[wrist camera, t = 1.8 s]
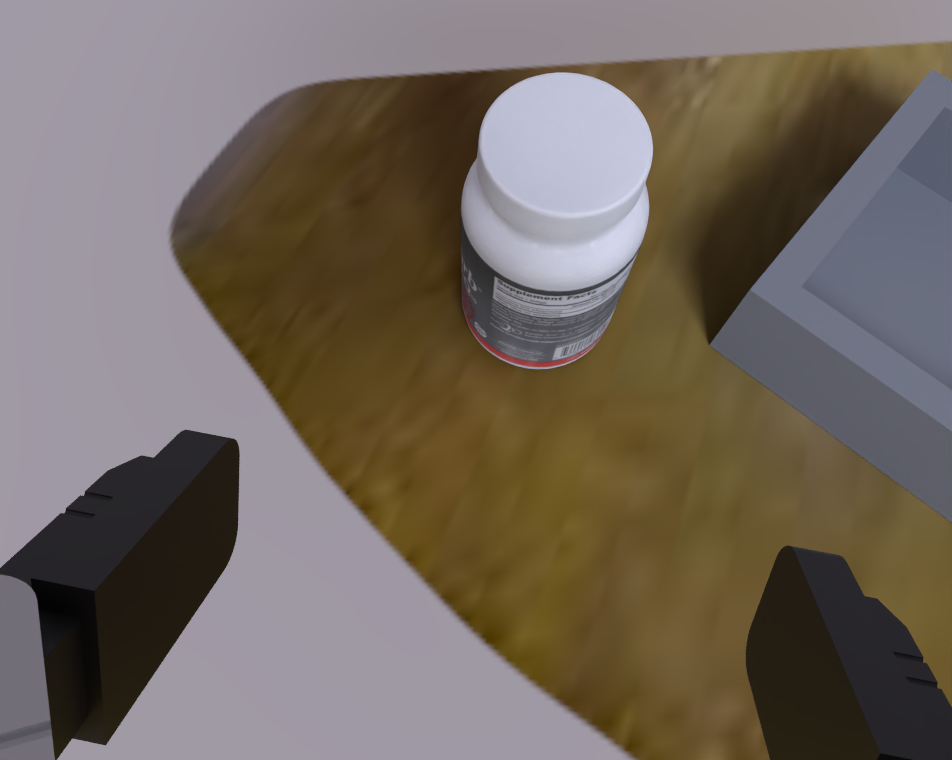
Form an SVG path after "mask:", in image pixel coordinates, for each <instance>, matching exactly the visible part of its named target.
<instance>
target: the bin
mask: <svg viewBox="0 0 952 760" xmlns="http://www.w3.org/2000/svg"><path fill="white" fill-rule="evenodd" d="M709 346H711V347H712V348H714V349H715V350H716V351H718V352H719V353H720V354H722V355H723V356H725V357H726V358H727V359H729V360H730V361H731V362H733V363H734V364H735V365H737V366H738V367H740V368H741V369H742V370H744V371H745V372H746V373H748V374H749V375H751V376H752V377H753V378H755V379H756V380H757V381H759V382H760V383H761V384H763V385H764V386H766V387H767V388H768V389H770V390H771V391H772V392H774V393H775V394H777V395H778V396H779V397H781V398H782V399H783V400H785V401H786V402H787V403H789V404H790V405H792V406H793V407H794V408H796V409H797V410H798V411H800V412H801V413H803V414H804V415H805V416H807V417H808V418H809V419H811V420H812V421H813V422H815V423H816V424H818V425H819V426H820V427H822V428H823V429H824V430H826V431H827V432H829V433H830V434H831V435H833V436H834V437H835V438H837V439H838V440H839V441H841V442H842V443H844V444H845V445H846V446H848V447H849V448H850V449H852V450H853V451H855V452H856V453H857V454H859V455H860V456H861V457H863V458H864V459H865V460H867V461H868V462H870V463H871V464H872V465H874V466H875V467H876V468H878V469H879V470H881V471H882V472H883V473H885V474H886V475H887V476H889V477H890V478H891V479H893V480H894V481H896V482H897V483H898V484H900V485H901V486H902V487H904V488H905V489H907V490H908V491H909V492H911V493H912V494H913V495H915V496H916V497H917V498H919V499H920V500H922V501H923V502H924V503H926V504H927V505H928V506H930V507H931V508H932V509H934V510H935V511H937V512H938V513H939V514H941V515H942V516H943V517H945V518H946V519H948V520H949V521H950V522H952V81H950V80H949V79H947V78H945V77H943V76H942V75H940V74H938V73H937V72H935V71H933V70H931V71H930V72H929V73H928V74H927V76H926V77H925V78H924V79H923V81H922V82H921V83H920V84H919V85H918V87H917V88H916V89H915V90H914V91H913V93H912V94H911V95H910V96H909V97H908V99H907V100H906V101H905V102H904V104H903V105H902V106H901V107H900V108H899V110H898V111H897V112H896V113H895V114H894V116H893V117H892V118H891V119H890V121H889V122H888V123H887V124H886V125H885V127H884V128H883V129H882V130H881V131H880V133H879V134H878V135H877V136H876V137H875V139H874V140H873V141H872V142H871V144H870V145H869V146H868V147H867V148H866V150H865V151H864V152H863V153H862V154H861V156H860V157H859V158H858V159H857V161H856V162H855V163H854V164H853V165H852V167H851V168H850V169H849V170H848V171H847V173H846V174H845V175H844V176H843V177H842V179H841V180H840V181H839V182H838V184H837V185H836V186H835V187H834V188H833V190H832V191H831V192H830V193H829V194H828V196H827V197H826V198H825V199H824V200H823V202H822V203H821V204H820V205H819V207H818V208H817V209H816V210H815V211H814V213H813V214H812V215H811V216H810V217H809V219H808V220H807V221H806V222H805V224H804V225H803V226H802V227H801V228H800V230H799V231H798V232H797V233H796V234H795V236H794V237H793V238H792V239H791V240H790V242H789V243H788V244H787V245H786V247H785V248H784V249H783V250H782V251H781V253H780V254H779V255H778V256H777V257H776V259H775V260H774V261H773V262H772V264H771V265H770V266H769V267H768V268H767V270H766V271H765V272H764V273H763V274H762V276H761V277H760V278H759V279H758V280H757V282H756V283H755V284H754V285H753V287H752V288H751V289H750V290H749V292H748V293H747V294H746V296H745V297H744V298H743V300H742V301H741V303H740V304H739V305H738V307H737V308H736V309H735V311H734V312H733V313H732V315H731V316H730V318H729V319H728V320H727V322H726V323H725V324H724V326H723V327H722V328H721V330H720V331H719V333H718V334H717V335H716V337H715V338H714V339H713V341H712V342H711V344H710V345H709Z"/></svg>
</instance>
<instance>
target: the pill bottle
mask: <svg viewBox="0 0 952 760" xmlns="http://www.w3.org/2000/svg"><path fill="white" fill-rule="evenodd" d="M652 155H653V144H652V137H651V133H650V130H649V127H648V124H647V122H646V120H645V118H644V116H643V114H642V113H641V111H640V110H639V109H638V107H637V106H636V105H635V104H634V103H633V102H632V101H631V99H629V98H628V97H627V96H626V95H625V94H624V93H622V92H621V91H620V90H618V89H617V88H615V87H613V86H612V85H610V84H608V83H606V82H604V81H601V80H599V79H596V78H594V77H590V76H587V75H582V74H576V73H560V72H557V73H547V74H542V75H538V76H534V77H530V78H527V79H525V80H523V81H521V82H519V83H517V84H515V85H513V86H511V87H510V88H509V89H507V90H506V91H504V92H503V93H502V94H501V95H500V96H499V97H498V98H497V99H496V100H495V101H494V103H493V104H492V105H491V106H490V108H489V109H488V111H487V113H486V115H485V117H484V119H483V122H482V125H481V128H480V134H479V143H478V153H477V158H476V160H475V162H474V163H473V165H472V166H471V168H470V170H469V173H468V175H467V178H466V181H465V183H464V188H463V192H462V199H461V286H462V291H461V293H462V305H463V311H464V315H465V318H466V321H467V323H468V326H469V328H470V330H471V331H472V333H473V335H474V336H475V338H476V339H477V340H478V341H479V343H480V344H481V345H482V346H483V347H484V348H485V349H486V350H488V351H489V352H490V353H491V354H493V355H494V356H496V357H498V358H499V359H501V360H503V361H505V362H507V363H510V364H512V365H515V366H519V367H523V368H529V369H549V368H555V367H559V366H563V365H566V364H568V363H571V362H573V361H575V360H577V359H579V358H580V357H582V356H583V355H585V354H586V353H587V352H589V351H590V350H591V349H592V348H593V347H594V346H595V345H596V344H597V342H598V341H599V340H600V338H601V337H602V335H603V334H604V332H605V331H606V329H607V327H608V325H609V322H610V320H611V317H612V315H613V312H614V310H615V307H616V305H617V302H618V300H619V297H620V295H621V292H622V290H623V288H624V285H625V282H626V280H627V277H628V275H629V272H630V270H631V268H632V265H633V263H634V260H635V258H636V256H637V254H638V252H639V249H640V246H641V243H642V241H643V237H644V234H645V231H646V227H647V223H648V216H649V198H648V192H647V187H646V184H645V182H646V179H647V176H648V173H649V170H650V167H651V162H652Z"/></svg>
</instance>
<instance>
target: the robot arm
mask: <svg viewBox="0 0 952 760" xmlns="http://www.w3.org/2000/svg"><path fill="white" fill-rule="evenodd" d="M238 494H239V446H238V443H237V441H236V440H235V439H231V438H226V437H221V436H216V435H211V434H205V433H200V432H195V431H190V430H184V431H182V432H180V433H179V434H178V435H177V436H176V437H175V438H174V439H173V440H172V441H171V442H170V443H169V444H168V445H167V446H166V447H164V448H163V449H162V450H161V451H160V452H159V453H158V454H157V455H156V456H155V457H154V458H151V457H146V456H139V457H137V458H135V459H132V460H130V461H128V462H126V463H124V464H121V465H119V466H117V467H115V468H113V469H110V470H108V471H107V472H106V473H105V474H104V475H103V476H101V477H100V478H99V479H98V480H97V481H96V482H95V483H94V484H93V485H91V487H89V488H88V489H87V490H86V491H85V494H84V496H79V497H78V498H77V499H76V500H75V501H74V502H73V503H72V504H71V505H69V506H68V507H67V508H66V512H65V513H64V514H63V513H61V514H59V515H58V516H57V517H56V518H55V519H54V520H53V521H52V522H51V523H50V524H48V526H46V527H45V528H44V529H43V530H42V531H41V532H40V533H38V534H37V535H36V536H35V537H34V538H33V539H32V540H31V541H30V542H29V543H27V544H26V545H25V546H24V547H23V548H22V549H21V550H20V551H19V552H17V553H16V554H15V555H14V556H13V557H12V558H11V559H10V560H9V561H7V562H6V563H5V564H4V565H3V566H2V567H1V568H0V760H57V758H58V757H59V756H60V754H61V753H62V752H63V750H64V749H65V748H66V746H67V745H68V743H69V742H70V741H71V739H72V738H74V739H78V740H83V741H88V742H93V743H97V744H102V745H106V744H107V742H108V741H109V740H110V738H111V737H112V735H113V734H114V732H115V731H116V729H117V728H118V726H119V725H120V723H121V722H122V721H123V719H124V718H125V716H126V715H127V713H128V712H129V710H130V709H131V707H132V705H133V704H134V703H135V701H136V700H137V698H138V697H139V695H140V694H141V692H142V691H143V689H144V688H145V686H146V685H147V683H148V682H149V680H150V679H151V678H152V676H153V675H154V673H155V672H156V670H157V669H158V667H159V666H160V664H161V662H162V661H163V660H164V658H165V657H166V655H167V654H168V652H169V651H170V649H171V648H172V646H173V645H174V644H175V642H176V641H177V639H178V638H179V636H180V634H181V633H182V632H183V630H184V629H185V627H186V626H187V624H188V623H189V621H190V620H191V618H192V617H193V615H194V614H195V612H196V611H197V609H198V608H199V606H200V605H201V604H202V602H203V601H204V599H205V598H206V596H207V595H208V593H209V591H210V590H211V589H212V587H213V586H214V584H215V583H216V581H217V580H218V578H219V577H220V575H221V574H222V572H223V571H224V569H225V568H226V566H227V564H228V562H229V560H230V557H231V555H232V552H233V549H234V545H235V541H236V537H237V530H238V497H239V495H238ZM923 658H924V657H923V656H922V654H921V652H920V650H919V648H918V647H917V645H916V643H915V641H914V640H913V638H912V636H911V634H910V632H909V631H908V629H907V627H906V626H905V625H904V624H903V623H902V622H901V621H900V620H899V619H897V618H896V617H895V616H894V615H893V614H892V613H891V612H890V611H889V610H888V609H887V608H886V607H885V606H884V605H883V604H882V603H881V602H880V601H879V600H878V599H876V598H871V597H866V596H864V595H863V593H862V591H861V589H860V587H859V585H858V583H857V581H856V579H855V577H854V575H853V574H852V572H851V570H850V568H849V566H848V564H847V562H846V560H845V559H844V558H843V557H842V556H840V555H835V554H829V553H824V552H819V551H814V550H808V549H803V548H798V547H792V546H785V547H783V548H782V549H781V551H780V552H779V554H778V555H777V558H776V560H775V563H774V565H773V568H772V571H771V573H770V576H769V579H768V581H767V584H766V587H765V590H764V592H763V595H762V598H761V600H760V603H759V606H758V608H757V611H756V614H755V616H754V619H753V622H752V625H751V627H750V630H749V634H748V639H747V646H746V668H747V674H748V679H749V682H750V686H751V690H752V694H753V697H754V701H755V705H756V709H757V712H758V716H759V720H760V724H761V727H762V731H763V735H764V739H765V742H766V746H767V750H768V754H769V757H770V760H952V707H951V706H950V704H949V702H948V700H947V698H946V697H945V695H944V693H943V691H942V689H938V688H937V683H938V682H937V681H936V679H935V677H934V675H933V673H932V672H931V670H930V668H929V666H928V665H927V663H923Z"/></svg>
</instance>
